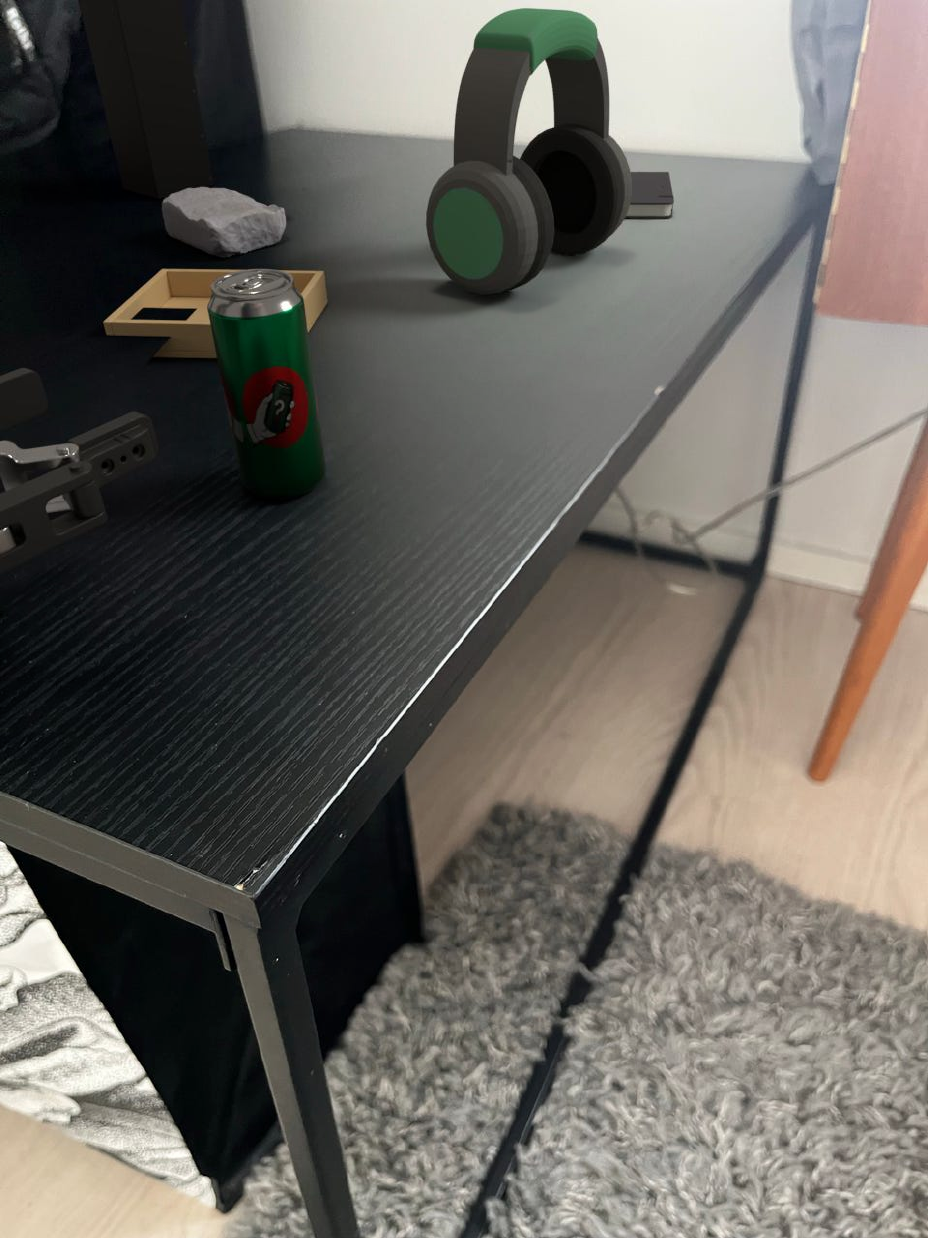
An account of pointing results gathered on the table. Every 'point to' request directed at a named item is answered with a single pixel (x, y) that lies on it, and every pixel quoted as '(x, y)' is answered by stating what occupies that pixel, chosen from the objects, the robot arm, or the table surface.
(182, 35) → the tall black block
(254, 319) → the soda can
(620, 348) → the table surface
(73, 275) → the table surface
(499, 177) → the headphones
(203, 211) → the stone block
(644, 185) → the notebook
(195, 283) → the tray
